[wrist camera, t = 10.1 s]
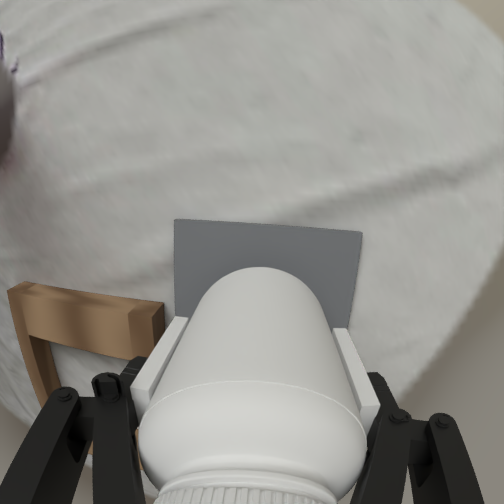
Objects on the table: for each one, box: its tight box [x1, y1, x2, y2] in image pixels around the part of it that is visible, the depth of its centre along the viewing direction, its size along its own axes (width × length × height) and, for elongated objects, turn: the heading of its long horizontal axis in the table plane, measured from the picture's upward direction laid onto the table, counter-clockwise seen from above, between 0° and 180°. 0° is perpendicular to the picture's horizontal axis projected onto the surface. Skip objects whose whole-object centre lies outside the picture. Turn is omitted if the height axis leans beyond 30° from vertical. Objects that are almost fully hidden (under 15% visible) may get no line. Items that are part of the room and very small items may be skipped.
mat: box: [174, 219, 362, 334], centre depth 21 cm, size 12×12×1 cm
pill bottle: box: [138, 267, 367, 504], centre depth 12 cm, size 8×8×15 cm
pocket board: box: [7, 281, 165, 470], centre depth 23 cm, size 14×18×2 cm
